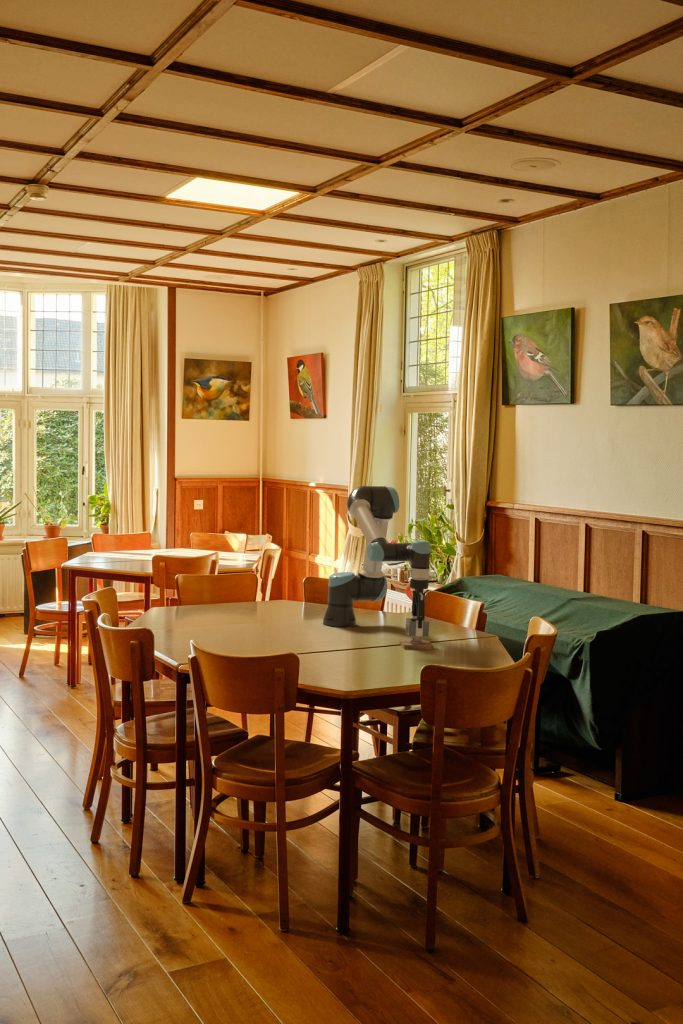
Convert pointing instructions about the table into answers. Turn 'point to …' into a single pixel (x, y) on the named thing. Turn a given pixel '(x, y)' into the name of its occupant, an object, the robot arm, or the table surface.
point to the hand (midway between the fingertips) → (416, 634)
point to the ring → (412, 627)
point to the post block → (416, 644)
